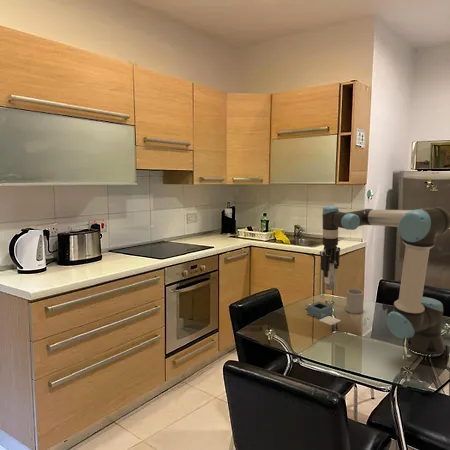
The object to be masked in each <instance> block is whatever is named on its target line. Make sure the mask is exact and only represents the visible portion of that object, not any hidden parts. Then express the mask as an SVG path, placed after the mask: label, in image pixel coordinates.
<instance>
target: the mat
mask: <svg viewBox="0 0 450 450" xmlns="http://www.w3.org/2000/svg"><path fill="white" fill-rule="evenodd" d="M318 322H320V323H324V324H326V325H329V326H334V325H336V324H337V323H340V322H342V320H341V319H339V318H335V317H333V316H332V315H330V316H327V317H324V318H322V319H319V320H318Z"/></svg>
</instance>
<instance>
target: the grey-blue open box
mask: <svg viewBox="0 0 450 450" xmlns="http://www.w3.org/2000/svg"><path fill="white" fill-rule="evenodd" d="M304 306H306V307H307V308H306V311H307V312H306V313H309V314H311V315H310V316H312V315H313V316H312V317H314V318H317V319H319V320H320V319H322V318H324V317H327V316H332V315H334V311H333V309H334V306H333V305H330V304H327V303H324V302H322V301H317V302H313V303H312V304H311V303H308V302H306V303H305V304H304ZM309 314H308V315H309Z"/></svg>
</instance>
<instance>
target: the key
mask: <svg viewBox="0 0 450 450" xmlns="http://www.w3.org/2000/svg"><path fill="white" fill-rule="evenodd" d="M334 264H337V263H336V260H332V259H330V264H329V271H330V283H329V284H328V283H325V290H327V291H333V290H334V289H335V282H334Z"/></svg>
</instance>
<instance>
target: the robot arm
mask: <svg viewBox="0 0 450 450" xmlns="http://www.w3.org/2000/svg"><path fill="white" fill-rule="evenodd" d="M361 226H380V227H395V228H398V229H397V230H398V233H399V235H400V237H401V238H402V241H401V242H402V243H403V244H404V245H405V249H404V257H403V258H404V259H403V264H402V273H401V279H400V287H399V295H398V299H397V300H395V301H394V302H393V307H392V308H393V309H392V311H390V312H389V313H388V314H387V315H386V317H385V322H386V325H387V328H388V329H389V331H390V332H391V334H393V335H394V336H395V337H396V338H398V339H401V340H406V339H407V340H406V348H407V350H408V349H410V350H412V351H414V352H417V353H421V354H428V355H430V354H432V355H433V354H439V353H442V352H443V351H444V350H445V351H446V346H445V343H444V339H443V337H442V331H443V330H442V328H443V317H444V316H443V315H444V305H443V303H442V302H441V301H440V300H437V299H435V298H432V297H427V296H423V295H424V290H425V289H424V288H425V284H426V283H425V282H426V275H427V270H428V262H429V255H430V250H431V249H432V248H434V247H435V245H436V240H437V237H439V236H441V235H444V234H446V233H447V232H448V231H449V230H450V212H448V211H447V210H446V209H445V208H444V207H440V206H430V207H421V208H420V209H419V208H418V209H374V208H364V209H360V210H353V211H349V212H346V211H345V212H344V211H343V212H342V211H340V210H339V207H338V206H337V205H325V206H323V208H322V245H323V250H321V251H319V255H320V270H321V271H323V277H324V280H323V281H324V283H325V284H326V283H328V284H329V283H330V271H329V264H330V259H332V260H336V264H334V283H335V282H336V281H337V280H336V279H337V278H336V276H337V275H336V274H337V269H339V267H340V253H341V247H339V246H338V245H339V238H338V237H339V228H340V229H345V230H349V231H350V230H351V231H354V230H356V229H357V228H359V227H361Z"/></svg>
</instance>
